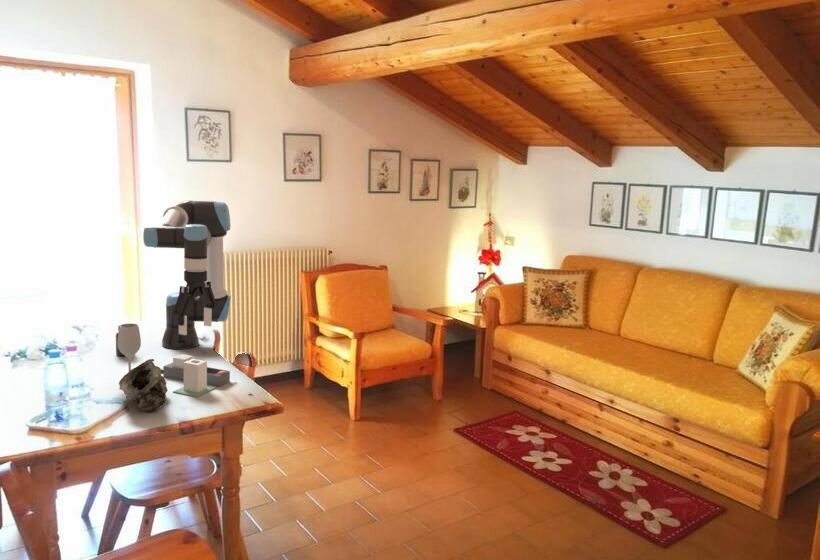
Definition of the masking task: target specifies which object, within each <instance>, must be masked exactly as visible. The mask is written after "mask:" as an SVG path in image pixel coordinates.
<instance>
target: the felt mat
mask: <svg viewBox="0 0 820 560" xmlns="http://www.w3.org/2000/svg"><path fill="white" fill-rule="evenodd" d="M217 388H218V387H216V386H210V385H207V388H206V389H204V390H202V391H200V392H198V393H197V392H192V391H187V390H184V386H181V388H180V387H179V388H178V389H175V390H173V391H172V393H175V394H178V395H179V394H180V395H182V396H183V395H184V396H189V397H192V398H193V397H194V398H198V397H201V396H203V395H205V394H207V393H209V392H211V391H213V390H215V389H217Z"/></svg>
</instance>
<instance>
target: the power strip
mask: <svg viewBox="0 0 820 560" xmlns="http://www.w3.org/2000/svg"><path fill="white" fill-rule="evenodd" d="M160 370H161V371H162V373H163V375H162V376H163V377H164V378H169V379H175V380H180V381H184V369H179V368H173V362H170V363H168V364H165V365H164V366H163V367H162V368H160ZM230 375H231V371H230V370H225V369H221V368H217V367H216V368H214V367H209V366H207V385H210V386H215V387H217V388H219V387H221V386H224V385H225V384H228V383H229V382H230V379H231V378H230V377H231V376H230Z"/></svg>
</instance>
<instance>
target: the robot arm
mask: <svg viewBox="0 0 820 560" xmlns="http://www.w3.org/2000/svg"><path fill="white" fill-rule="evenodd" d="M230 230H231V217H230V210H229V207H228V204H227V203H226V202H221V201H211V200H210V201H209V200H208V201H207V200H184V201H180V202H176V203H174V204H172V205H170V206H169V207H167V208H166V209H165V211H164V212H163V214H162V218H161V220H159V222H158V223H157V224H156V225H146V226H145V227H144V229H143V236H142V239H143V244H144V246H145V247H147V248H154V249H155V248H161V249H162V248H163V249H166V248H167V249H184V257H183V258H184V259H183V263H184V265H183V267H184V272H183V276H184V277H183V280H184V282H186V285H185V286H184V285H183V286H182V285H180V286H179V291H175V292H172V293H169V294H168V295H167V296H166V299H165V300H166V302H165V303H166V304H165V312H166V313H165V315H166V318H165V319H166V321H165V322H166V323H165V324H166V326H165V331H164V334H163V337H162V339H161V346H162V347H164V348H166V349H174V350H179V349H180V350H182V349H191V348H195V347H196V346H197V347H198V345H199V344H200V343H199V342H200V341H199V337H198V334H197V333H198V332H197V329H196V327H195V325H196V324H195V323H196V322H203V326H204V327H205V326H206V327H212V322H213V323H214V322H215V323H219V322H226V321H227V320H228V317H229V312H230V305H231V299H232V298H231V297H232V296H231V295H230V294H228V291H227V289H225V288H224V285H225V284H224V282H225V281H224V280H225V279H224V237H226V235H228V233H227V232H228V231H230Z"/></svg>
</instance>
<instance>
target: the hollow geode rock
mask: <svg viewBox="0 0 820 560" xmlns="http://www.w3.org/2000/svg"><path fill="white" fill-rule="evenodd" d="M154 362H155V359H154V358H152V359H151V358H150V359H147V360H145V361H144V362H142V363H139V365H137V366H136V367H133V368H131V371H130V372H129V371H128V372H127V373H126V374H125V375H123V376H122V378H121V379H119V381H120V383H119V382H118V385H119V388H118V389H119V391H123V394H124V395H126V396H125V399H127V400H133V401H136V405H137V406H136V407H137V409H138V410H139V411H141V412H145V413H148V414H150V413H151V414H152V413H153V414H154V413H155V412H156V411H157V410H159V409H160V408H162V407H164V404H165V403H166V397H167V393H168V387H167V381H166V377H164V376H163V375H162V373H163V372H162V371H161V370H160V369H161V368H160V366H157V365H155V363H154Z"/></svg>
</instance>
